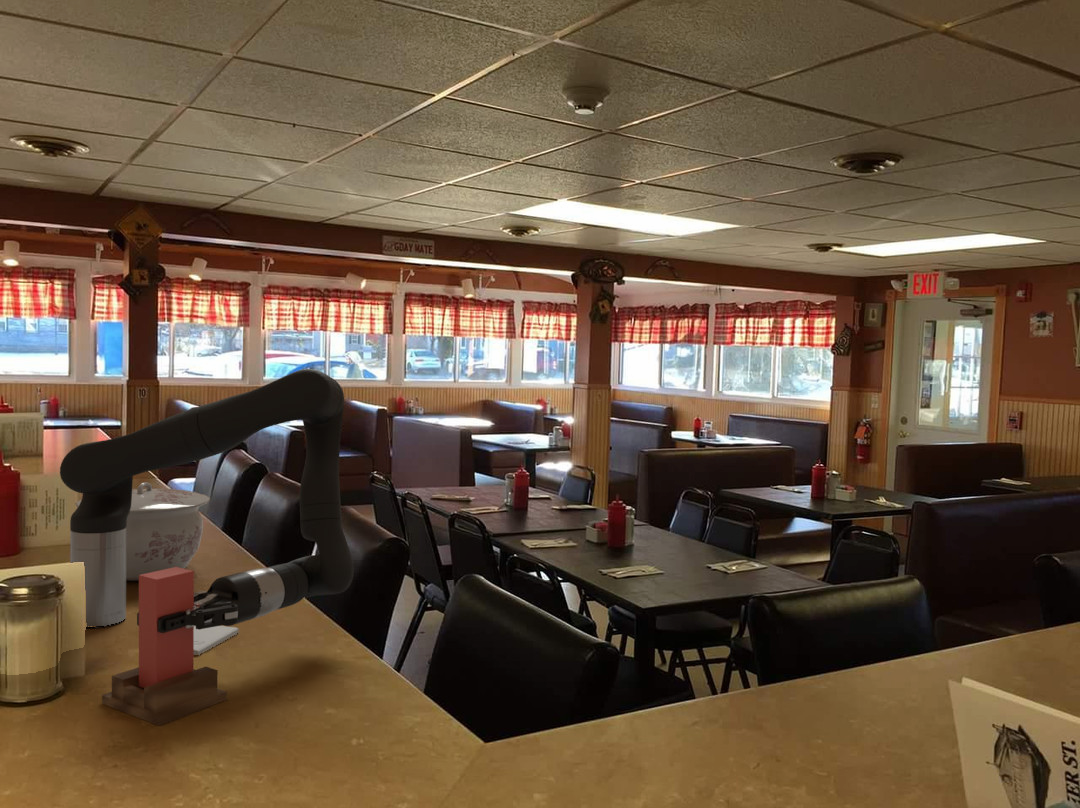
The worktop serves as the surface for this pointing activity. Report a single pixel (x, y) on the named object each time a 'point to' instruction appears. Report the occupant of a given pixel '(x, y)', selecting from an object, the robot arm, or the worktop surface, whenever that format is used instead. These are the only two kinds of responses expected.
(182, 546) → the chamber pot
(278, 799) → the worktop surface
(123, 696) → the rack
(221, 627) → the external hard drive
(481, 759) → the worktop surface
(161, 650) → the salmon rectangular prism
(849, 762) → the worktop surface
